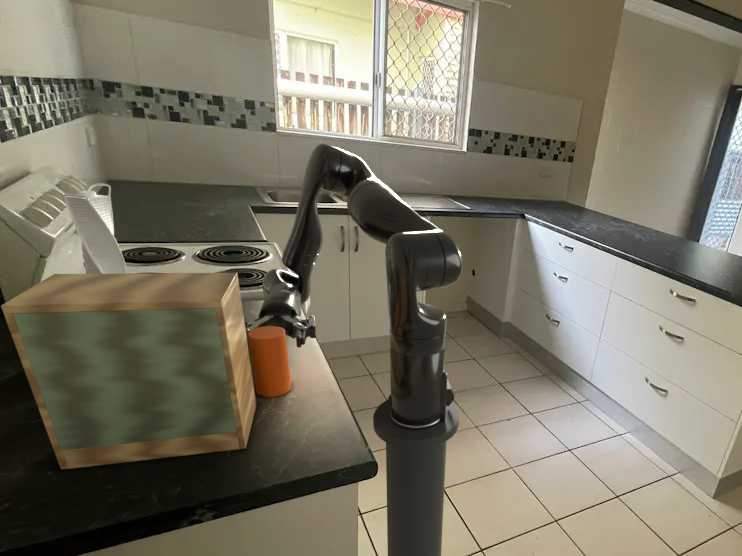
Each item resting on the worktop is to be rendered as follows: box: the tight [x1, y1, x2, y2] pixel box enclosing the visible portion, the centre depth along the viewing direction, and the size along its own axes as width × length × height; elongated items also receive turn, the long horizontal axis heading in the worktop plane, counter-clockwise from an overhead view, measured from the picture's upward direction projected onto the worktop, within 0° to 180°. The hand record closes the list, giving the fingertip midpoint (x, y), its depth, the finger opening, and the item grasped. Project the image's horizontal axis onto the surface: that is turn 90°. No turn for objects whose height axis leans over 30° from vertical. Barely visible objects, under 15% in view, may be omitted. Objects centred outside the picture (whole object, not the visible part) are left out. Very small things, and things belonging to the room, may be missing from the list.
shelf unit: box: [0, 272, 257, 470], centre depth 66 cm, size 22×12×23 cm, turn 109°
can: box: [248, 326, 292, 398], centre depth 82 cm, size 6×6×11 cm
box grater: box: [63, 182, 128, 274], centre depth 102 cm, size 8×8×28 cm
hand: (273, 344), depth 86 cm, fingers open, 8 cm apart
